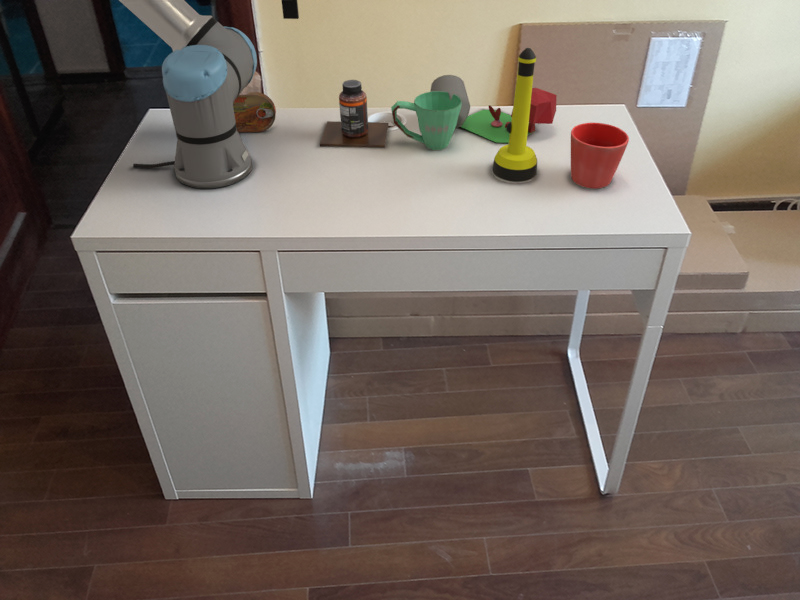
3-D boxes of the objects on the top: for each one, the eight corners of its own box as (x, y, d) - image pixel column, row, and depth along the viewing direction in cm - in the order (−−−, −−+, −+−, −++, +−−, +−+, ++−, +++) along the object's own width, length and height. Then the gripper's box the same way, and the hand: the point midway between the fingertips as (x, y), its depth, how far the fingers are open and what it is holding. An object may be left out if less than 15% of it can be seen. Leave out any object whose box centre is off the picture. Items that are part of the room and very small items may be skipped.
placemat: (320, 146, 148) (319, 143, 148) (327, 123, 156) (327, 121, 156) (384, 147, 147) (384, 145, 147) (388, 125, 156) (388, 122, 155)
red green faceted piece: (522, 154, 144) (527, 113, 139) (452, 124, 155) (454, 85, 150) (564, 132, 152) (570, 93, 147) (494, 105, 164) (498, 67, 158)
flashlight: (554, 41, 125) (505, 38, 127) (552, 59, 119) (500, 55, 120) (537, 163, 141) (494, 159, 143) (535, 185, 135) (489, 181, 136)
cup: (426, 110, 146) (425, 73, 150) (429, 137, 155) (428, 101, 159) (471, 107, 146) (468, 70, 149) (471, 134, 154) (469, 98, 158)
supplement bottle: (360, 124, 155) (358, 75, 147) (373, 134, 151) (371, 84, 144) (336, 130, 152) (333, 81, 145) (349, 141, 148) (346, 90, 141)
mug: (459, 135, 152) (462, 91, 145) (459, 156, 144) (461, 111, 138) (393, 133, 153) (393, 90, 146) (389, 154, 145) (388, 109, 139)
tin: (209, 133, 153) (202, 97, 148) (212, 127, 156) (205, 91, 150) (277, 131, 154) (272, 95, 148) (278, 125, 156) (274, 89, 151)
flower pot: (603, 163, 141) (612, 119, 135) (628, 190, 133) (639, 144, 127) (555, 168, 140) (562, 124, 133) (577, 196, 131) (585, 150, 125)
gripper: (293, -111, 107) (306, 28, 120) (318, -135, 126) (326, -13, 140) (246, -111, 107) (264, 28, 121) (277, -135, 126) (290, -13, 140)
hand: (297, 6), depth 130 cm, fingers open, 13 cm apart
